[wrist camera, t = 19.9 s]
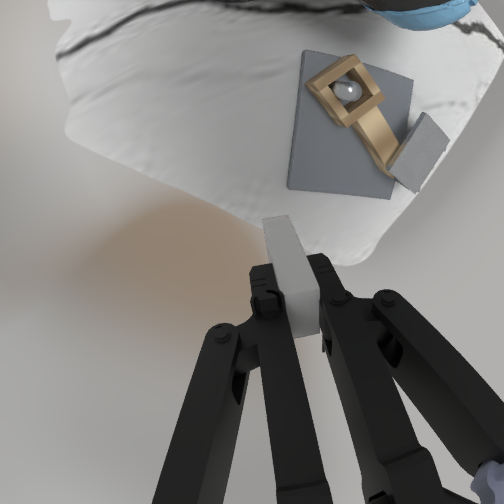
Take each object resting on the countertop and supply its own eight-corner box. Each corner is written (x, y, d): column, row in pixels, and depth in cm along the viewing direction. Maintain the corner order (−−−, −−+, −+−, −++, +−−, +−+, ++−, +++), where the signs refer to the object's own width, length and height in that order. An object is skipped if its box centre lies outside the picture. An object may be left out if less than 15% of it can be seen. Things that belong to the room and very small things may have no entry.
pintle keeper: (320, 79, 32) (343, 78, 25) (426, 109, 35) (460, 118, 27) (308, 165, 39) (327, 184, 32) (411, 180, 41) (440, 200, 34)
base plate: (302, 51, 30) (305, 49, 29) (408, 79, 32) (413, 80, 31) (286, 186, 41) (289, 189, 39) (385, 196, 43) (390, 199, 41)
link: (304, 83, 31) (312, 83, 28) (342, 56, 29) (355, 53, 26) (371, 176, 39) (383, 185, 36) (403, 150, 37) (418, 158, 34)
